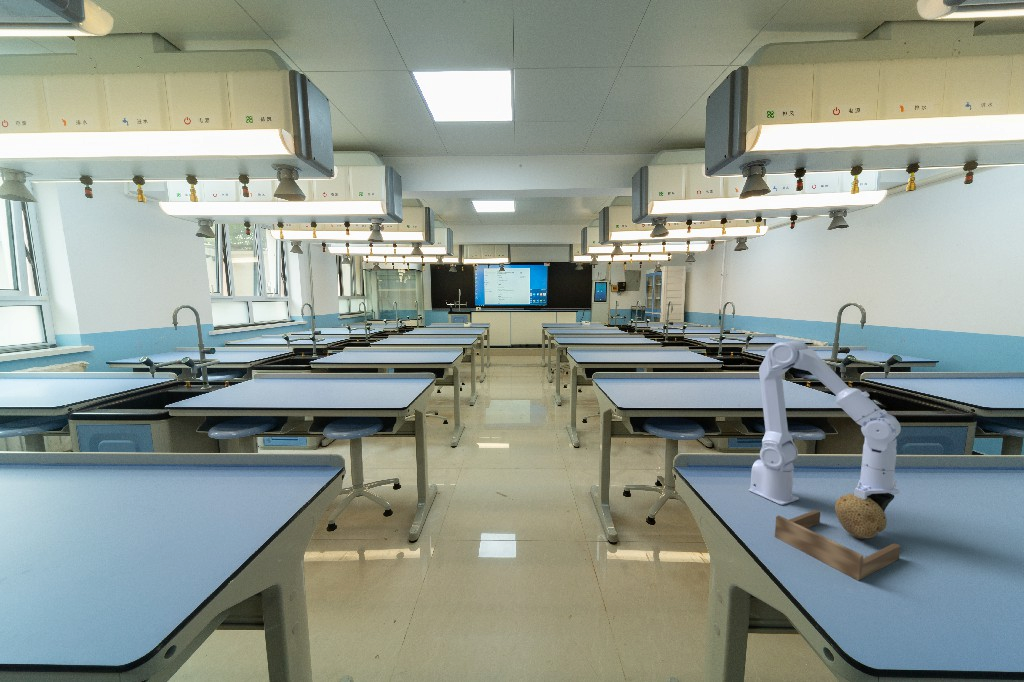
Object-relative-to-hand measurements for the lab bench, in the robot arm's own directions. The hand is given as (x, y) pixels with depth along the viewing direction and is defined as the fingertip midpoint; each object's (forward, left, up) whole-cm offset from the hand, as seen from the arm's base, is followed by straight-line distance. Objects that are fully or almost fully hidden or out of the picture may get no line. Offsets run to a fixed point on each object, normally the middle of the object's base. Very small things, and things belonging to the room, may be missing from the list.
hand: (872, 520), depth 94 cm
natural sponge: (0, -6, -3) cm, 7 cm away
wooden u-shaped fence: (0, -16, -2) cm, 16 cm away
